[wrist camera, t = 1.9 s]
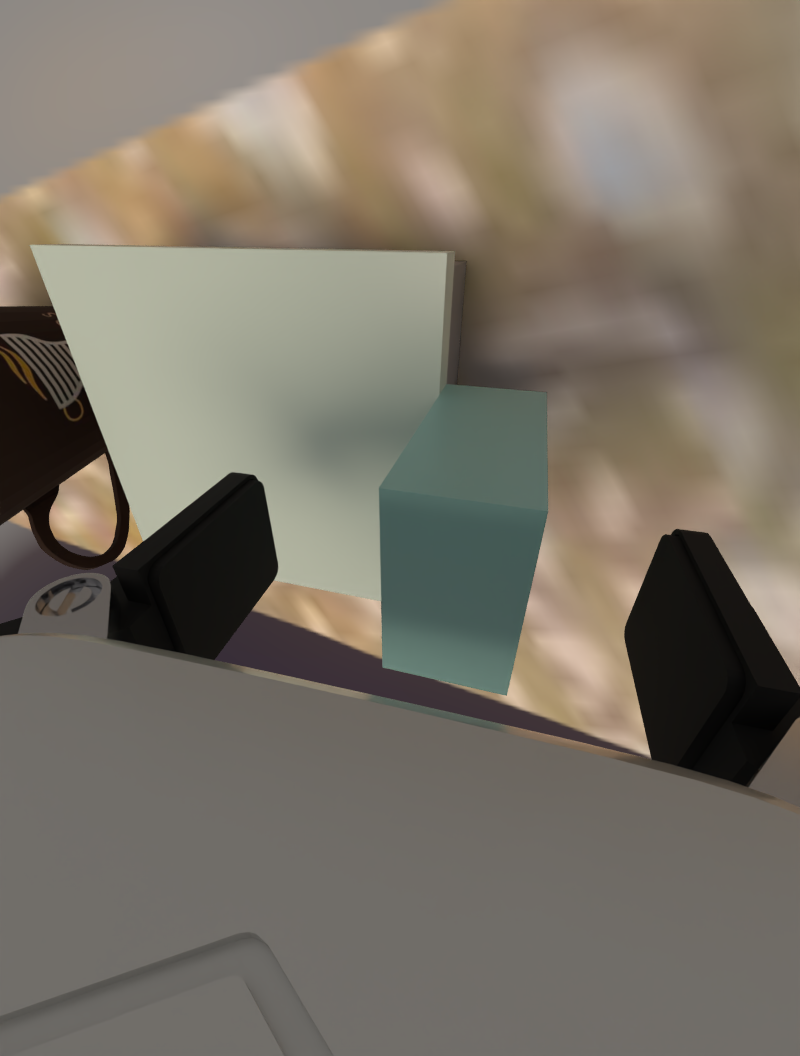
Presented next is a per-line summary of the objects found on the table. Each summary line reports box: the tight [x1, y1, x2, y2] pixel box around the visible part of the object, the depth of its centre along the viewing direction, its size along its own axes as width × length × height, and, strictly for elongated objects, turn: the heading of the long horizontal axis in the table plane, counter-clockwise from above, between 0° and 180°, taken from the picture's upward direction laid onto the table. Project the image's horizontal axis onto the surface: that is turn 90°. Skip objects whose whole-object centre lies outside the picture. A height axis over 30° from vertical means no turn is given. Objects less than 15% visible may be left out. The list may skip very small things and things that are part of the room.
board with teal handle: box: [30, 244, 548, 696], centre depth 13 cm, size 16×12×7 cm
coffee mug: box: [0, 306, 130, 570], centre depth 21 cm, size 12×9×10 cm
